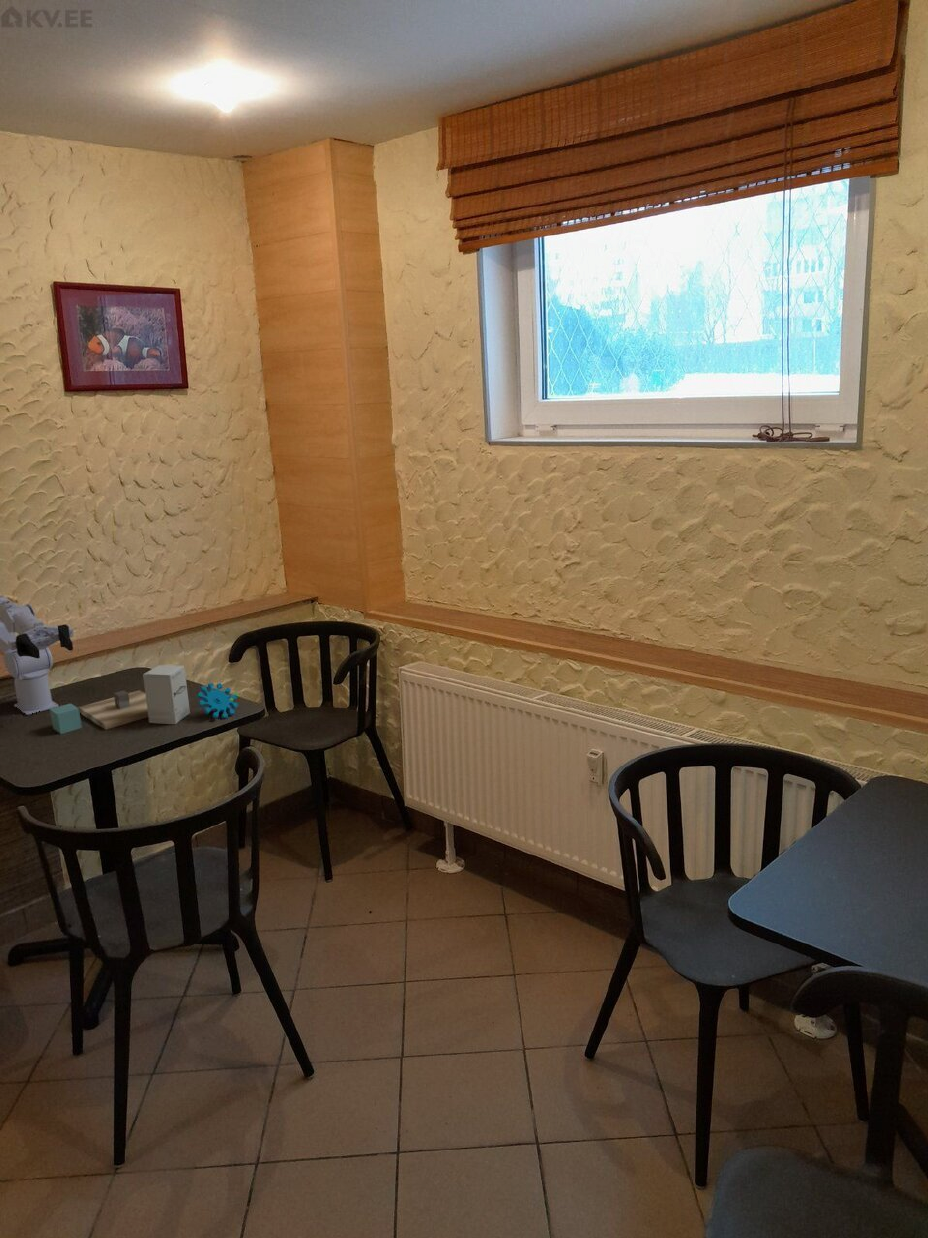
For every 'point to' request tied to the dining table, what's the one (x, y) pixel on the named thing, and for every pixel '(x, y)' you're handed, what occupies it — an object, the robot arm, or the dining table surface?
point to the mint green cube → (65, 718)
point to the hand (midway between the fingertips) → (54, 650)
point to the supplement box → (166, 694)
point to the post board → (117, 709)
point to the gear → (218, 700)
